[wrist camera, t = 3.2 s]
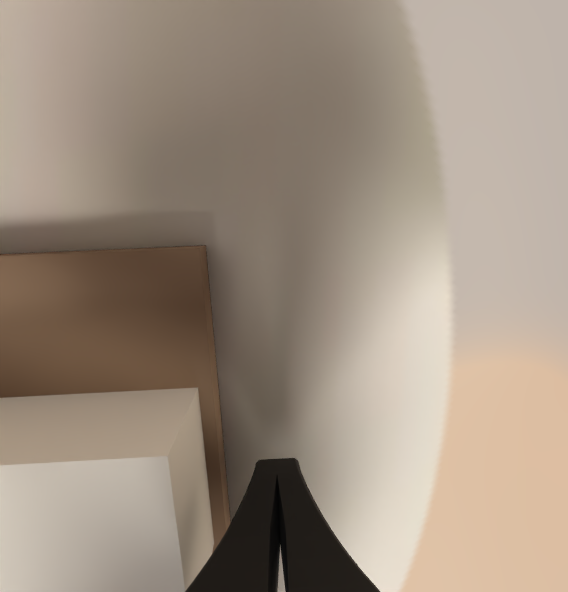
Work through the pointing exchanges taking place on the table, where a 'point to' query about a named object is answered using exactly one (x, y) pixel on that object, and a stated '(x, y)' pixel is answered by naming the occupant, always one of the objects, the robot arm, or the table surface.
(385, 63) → the table surface
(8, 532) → the carton
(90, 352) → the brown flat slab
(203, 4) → the table surface
